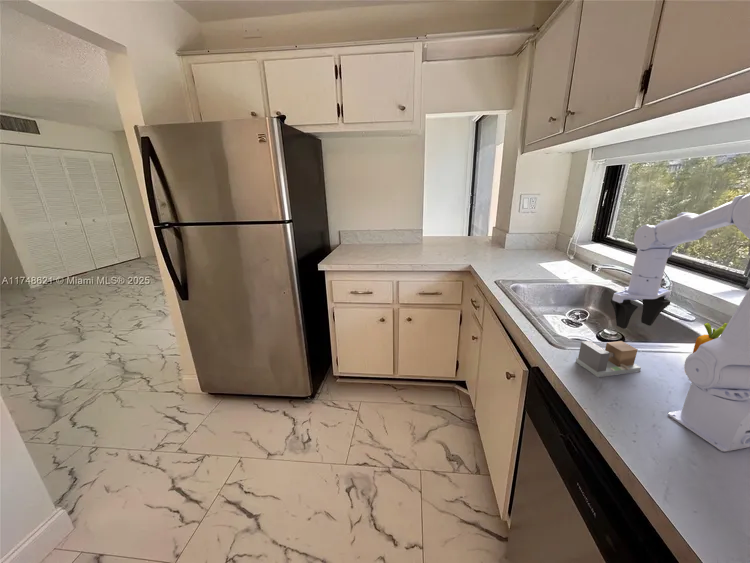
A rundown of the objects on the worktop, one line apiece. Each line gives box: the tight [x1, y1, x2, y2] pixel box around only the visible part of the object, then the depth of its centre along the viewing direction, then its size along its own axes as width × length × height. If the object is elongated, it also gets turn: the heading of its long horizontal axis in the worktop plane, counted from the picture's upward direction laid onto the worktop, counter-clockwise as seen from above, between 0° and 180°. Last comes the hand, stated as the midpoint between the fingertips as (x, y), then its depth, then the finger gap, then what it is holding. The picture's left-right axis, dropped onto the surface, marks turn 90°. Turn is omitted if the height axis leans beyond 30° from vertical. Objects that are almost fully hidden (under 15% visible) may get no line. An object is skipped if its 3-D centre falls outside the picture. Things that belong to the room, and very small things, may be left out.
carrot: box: [692, 322, 728, 353], centre depth 71 cm, size 5×5×15 cm
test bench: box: [575, 340, 642, 378], centre depth 79 cm, size 7×12×6 cm, turn 99°
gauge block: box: [604, 340, 639, 370], centre depth 78 cm, size 6×6×4 cm
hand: (633, 325), depth 80 cm, fingers open, 7 cm apart
